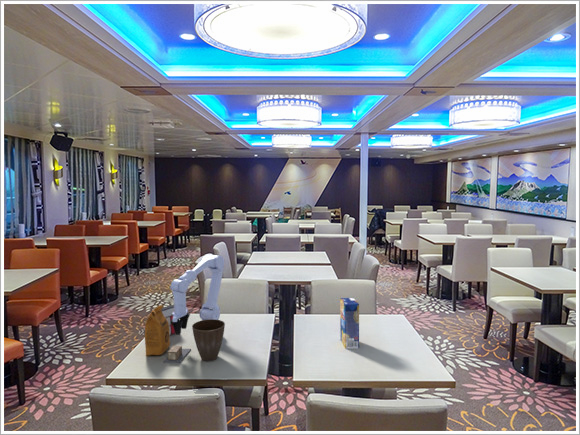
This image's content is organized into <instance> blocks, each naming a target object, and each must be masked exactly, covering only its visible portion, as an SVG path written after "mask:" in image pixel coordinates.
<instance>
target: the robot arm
mask: <svg viewBox="0 0 580 435" xmlns="http://www.w3.org/2000/svg"><path fill="white" fill-rule="evenodd" d="M224 267H225V259H224V257H223V256H222V255H219V254H218V255H215V254H210V253H207V254H204V256H203V257H202V259H201V260H200V261H199V262H198V264H196V266H195V267H193V269H186V271H185V272H184V273H183V274H182V275H181V276H179V278H177V279H176V278H175V279H173V280H172V282H171V283H170V284H171V285H170V286H169V289H170V290H171V291H172V295H173V305H174V312H173V313H172V315H174V317H173V320H171V324H172V325H173V327H174V330H175V336H176V335H179V336H180V335H181V333H182V330H183V329H184V330H185V329H187V326H188V320H189V318H190V316H191V314H190V312H189V309H188V308H187V297H186V296H187V293H186V292H187V290H188V289H189V286H190V284H192V283H193V282H194V281H195V280H197V276H198V275H199V274H200V273H201V272H203V271H204V270H206V269H207V268H208V269H209V270H210V271H211V273H212V274H211V278H210V283H209V288H208V292H207V297H206V302H205V303H204V304H202V306H201V309H200V310H199V318H200V319H201V321H202V320H208V319H216V320H220V317H221V313H220V310H221V308H220V306H219V305H218V299H219V294H220V290H221V289H220V288H221V284H222V279H223V274H224Z"/></svg>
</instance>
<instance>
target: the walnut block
mask: <svg viewBox="0 0 580 435" xmlns="http://www.w3.org/2000/svg"><path fill="white" fill-rule="evenodd" d="M182 346H183V345H173V346H172V347H171V348H170V349H169V350H167V357H168V360H177V359H178V358H179V357H180V356H181V355H182V349H183V347H182Z"/></svg>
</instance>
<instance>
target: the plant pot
mask: <svg viewBox="0 0 580 435" xmlns="http://www.w3.org/2000/svg"><path fill="white" fill-rule="evenodd" d="M191 325H192V326H191V327H192V328H191V329H192V334H193V338H194V341H195V346H196V349H197V352H198V354H199V357H200V359H201V360H202V361H204V362H211V361H212V362H213V361H215V360H216V359H218V357H219V353H220V350H221V347H222V344H223V338H224V335H225V334H224V333H225V325H226V324H225V321H223V320H221V319H218V320H216V319H208V320H202V319H201V320H198V321H196V322H194V323H193V324H191Z"/></svg>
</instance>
